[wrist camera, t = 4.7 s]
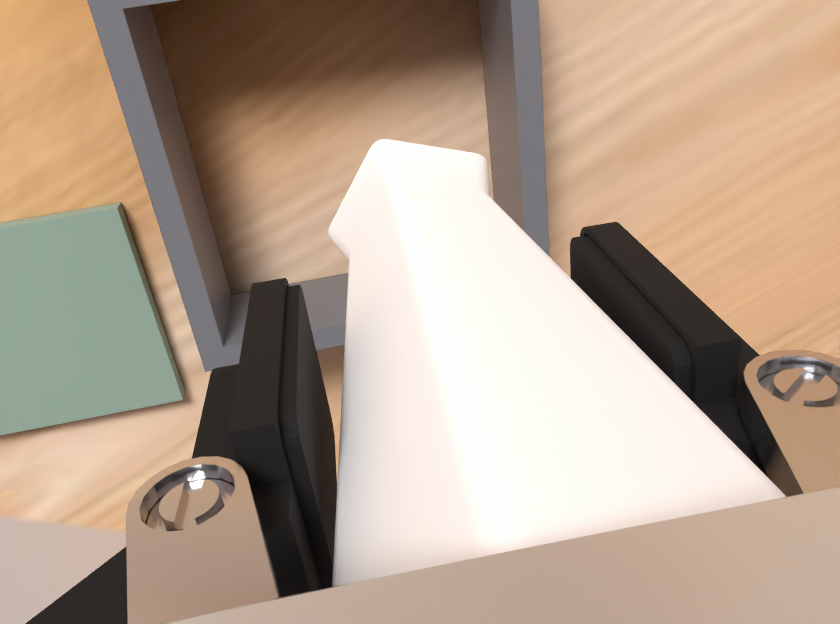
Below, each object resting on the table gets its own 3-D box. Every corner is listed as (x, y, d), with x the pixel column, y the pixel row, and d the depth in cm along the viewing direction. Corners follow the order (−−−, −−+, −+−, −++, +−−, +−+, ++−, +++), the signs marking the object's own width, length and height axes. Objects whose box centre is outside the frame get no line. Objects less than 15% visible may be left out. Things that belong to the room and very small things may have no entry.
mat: (120, 202, 25) (117, 208, 24) (184, 391, 29) (183, 399, 28) (-120, 243, 24) (-129, 249, 24) (-22, 431, 28) (-28, 440, 27)
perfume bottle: (456, 338, 18) (868, 1476, 5) (292, 269, 16) (230, 1636, 3) (558, 177, 16) (1617, 1233, 3) (386, 84, 15) (1014, 1341, 2)
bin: (496, -81, 23) (534, -86, 19) (518, 260, 29) (551, 305, 25) (113, -27, 22) (80, -21, 18) (215, 316, 27) (205, 371, 24)
